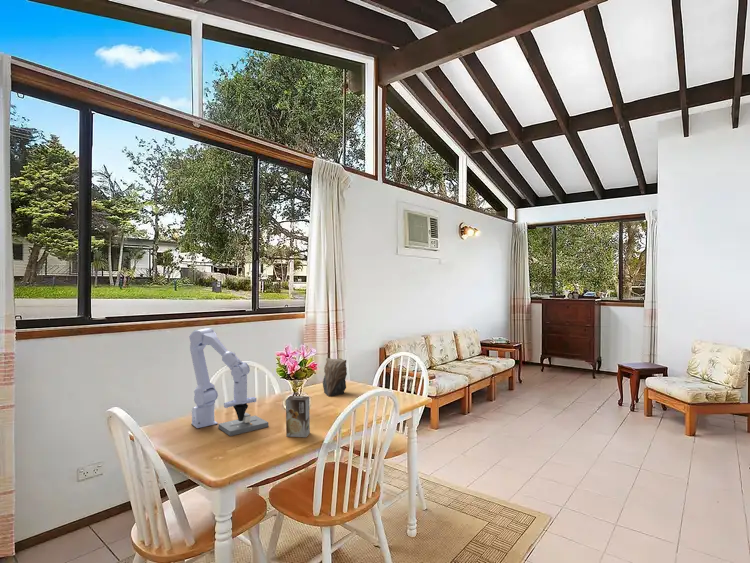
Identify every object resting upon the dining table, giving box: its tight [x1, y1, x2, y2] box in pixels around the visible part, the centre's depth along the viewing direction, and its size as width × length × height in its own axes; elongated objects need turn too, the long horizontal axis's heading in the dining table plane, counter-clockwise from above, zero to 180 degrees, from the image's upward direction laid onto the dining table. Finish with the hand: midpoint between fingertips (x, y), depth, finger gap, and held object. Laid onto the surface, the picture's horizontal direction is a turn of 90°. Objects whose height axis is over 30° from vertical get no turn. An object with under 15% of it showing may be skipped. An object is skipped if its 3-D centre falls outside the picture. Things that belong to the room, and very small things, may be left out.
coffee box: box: [285, 395, 311, 438], centre depth 188 cm, size 9×6×16 cm
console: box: [217, 414, 269, 437], centre depth 197 cm, size 18×13×2 cm
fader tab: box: [243, 412, 252, 423], centre depth 198 cm, size 2×4×3 cm, turn 41°
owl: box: [322, 357, 348, 397], centre depth 255 cm, size 13×13×20 cm
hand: (240, 420), depth 196 cm, fingers closed
